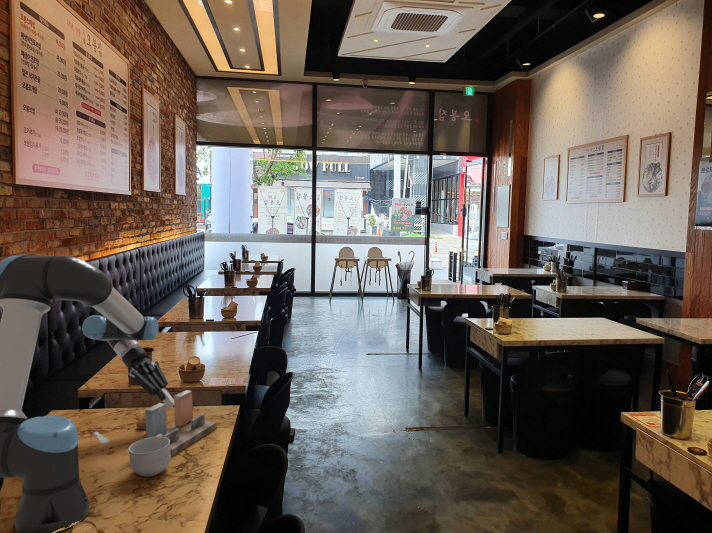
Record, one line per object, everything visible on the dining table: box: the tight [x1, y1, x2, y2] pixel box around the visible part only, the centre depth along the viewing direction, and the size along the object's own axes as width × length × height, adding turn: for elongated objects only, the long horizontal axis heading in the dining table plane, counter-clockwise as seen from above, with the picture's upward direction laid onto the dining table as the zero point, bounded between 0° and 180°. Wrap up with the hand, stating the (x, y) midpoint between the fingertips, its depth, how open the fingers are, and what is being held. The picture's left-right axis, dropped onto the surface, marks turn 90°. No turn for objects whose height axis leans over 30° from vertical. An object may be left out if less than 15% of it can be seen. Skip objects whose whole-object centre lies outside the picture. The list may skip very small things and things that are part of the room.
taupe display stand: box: [163, 413, 217, 457], centre depth 169 cm, size 22×12×5 cm, turn 160°
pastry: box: [136, 414, 146, 430], centre depth 180 cm, size 9×7×4 cm
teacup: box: [127, 434, 172, 477], centre depth 149 cm, size 14×11×8 cm
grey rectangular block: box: [145, 402, 168, 438], centre depth 164 cm, size 6×2×10 cm, turn 160°
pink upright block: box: [173, 389, 194, 426], centre depth 176 cm, size 6×2×10 cm, turn 160°
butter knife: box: [93, 431, 110, 444], centre depth 175 cm, size 1×24×3 cm
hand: (172, 405), depth 178 cm, fingers closed
